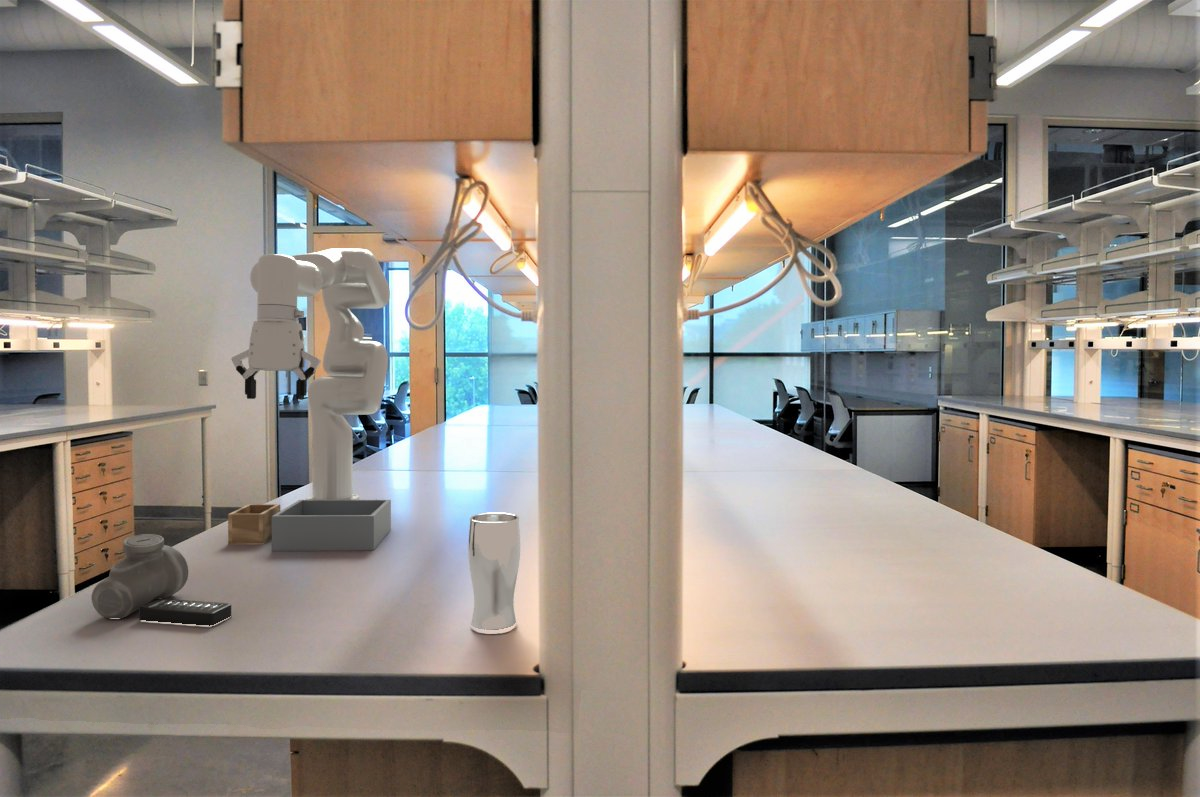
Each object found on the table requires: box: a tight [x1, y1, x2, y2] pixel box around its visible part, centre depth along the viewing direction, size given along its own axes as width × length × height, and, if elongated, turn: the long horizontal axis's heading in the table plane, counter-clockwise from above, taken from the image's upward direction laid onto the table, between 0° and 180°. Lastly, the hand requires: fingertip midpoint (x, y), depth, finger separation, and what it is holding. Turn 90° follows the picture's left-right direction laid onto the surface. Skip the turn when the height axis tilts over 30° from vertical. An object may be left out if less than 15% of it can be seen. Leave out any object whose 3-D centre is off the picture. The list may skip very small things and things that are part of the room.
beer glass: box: [467, 512, 521, 630], centre depth 100 cm, size 7×7×15 cm
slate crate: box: [271, 499, 392, 552], centre depth 147 cm, size 17×19×6 cm
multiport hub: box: [139, 598, 232, 626], centre depth 101 cm, size 4×11×2 cm, turn 81°
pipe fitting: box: [91, 533, 189, 619], centre depth 105 cm, size 12×8×10 cm
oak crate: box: [227, 503, 281, 545], centre depth 147 cm, size 10×6×6 cm, turn 5°
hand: (275, 399), depth 152 cm, fingers open, 9 cm apart
